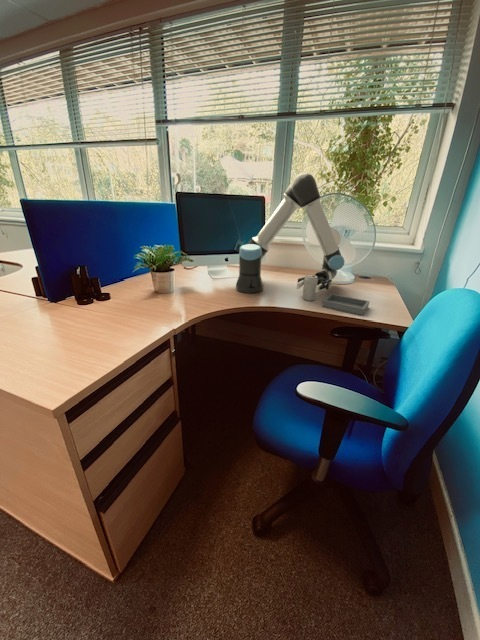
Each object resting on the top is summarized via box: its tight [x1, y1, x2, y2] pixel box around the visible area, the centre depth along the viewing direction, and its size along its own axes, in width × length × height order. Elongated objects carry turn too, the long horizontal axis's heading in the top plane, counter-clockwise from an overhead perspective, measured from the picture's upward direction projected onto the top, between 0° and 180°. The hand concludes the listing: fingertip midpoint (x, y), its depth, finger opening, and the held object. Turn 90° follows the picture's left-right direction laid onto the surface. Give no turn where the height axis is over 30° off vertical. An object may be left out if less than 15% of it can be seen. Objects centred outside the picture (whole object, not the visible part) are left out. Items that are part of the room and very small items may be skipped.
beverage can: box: [302, 274, 318, 302], centre depth 130 cm, size 6×6×12 cm
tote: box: [321, 293, 370, 317], centre depth 123 cm, size 18×12×3 cm, turn 55°
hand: (306, 287), depth 126 cm, fingers open, 9 cm apart
